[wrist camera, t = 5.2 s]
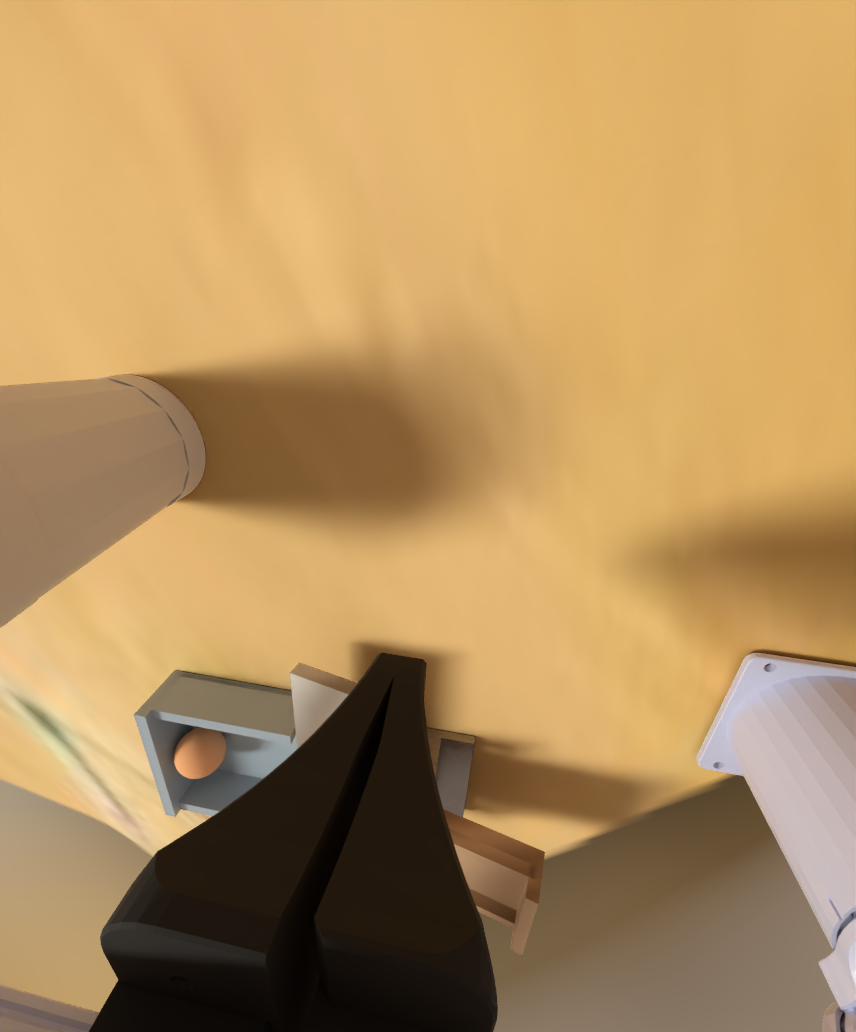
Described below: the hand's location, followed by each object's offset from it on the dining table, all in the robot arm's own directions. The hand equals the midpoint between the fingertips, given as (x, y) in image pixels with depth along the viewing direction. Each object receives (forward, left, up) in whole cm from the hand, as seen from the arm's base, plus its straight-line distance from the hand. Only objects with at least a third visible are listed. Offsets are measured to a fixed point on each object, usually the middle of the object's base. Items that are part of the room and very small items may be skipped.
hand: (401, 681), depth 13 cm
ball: (+14, +17, -8) cm, 23 cm away
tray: (+12, +17, -9) cm, 23 cm away
